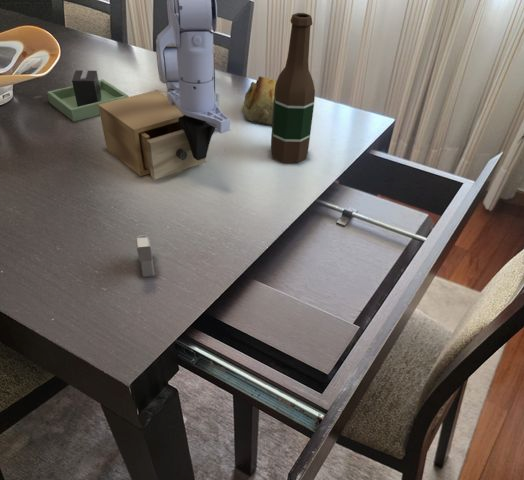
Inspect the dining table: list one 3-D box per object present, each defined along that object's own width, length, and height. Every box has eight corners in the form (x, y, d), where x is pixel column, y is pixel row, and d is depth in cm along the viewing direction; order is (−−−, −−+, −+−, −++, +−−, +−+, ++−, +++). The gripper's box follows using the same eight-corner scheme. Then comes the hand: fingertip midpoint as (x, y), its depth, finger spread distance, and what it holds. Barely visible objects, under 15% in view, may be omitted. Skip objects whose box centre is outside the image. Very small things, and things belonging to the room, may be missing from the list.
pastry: (230, 109, 111) (230, 70, 105) (276, 100, 116) (279, 63, 110) (262, 134, 104) (264, 94, 98) (310, 124, 108) (314, 85, 102)
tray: (105, 90, 115) (103, 79, 113) (130, 107, 109) (128, 95, 107) (49, 103, 109) (46, 91, 107) (73, 121, 103) (71, 110, 101)
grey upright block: (140, 259, 73) (133, 213, 67) (152, 258, 74) (145, 212, 68) (144, 290, 69) (136, 243, 63) (156, 289, 69) (149, 242, 63)
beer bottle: (312, 150, 100) (330, 12, 82) (301, 167, 95) (318, 24, 77) (276, 143, 101) (286, 5, 83) (264, 159, 96) (272, 17, 78)
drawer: (209, 164, 92) (208, 128, 87) (158, 182, 87) (153, 145, 82) (172, 139, 98) (169, 104, 93) (121, 154, 93) (115, 118, 88)
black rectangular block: (81, 96, 110) (75, 68, 106) (101, 96, 111) (96, 68, 106) (77, 107, 106) (71, 79, 102) (99, 107, 107) (93, 79, 102)
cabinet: (196, 157, 95) (194, 112, 89) (140, 176, 90) (133, 129, 83) (161, 133, 101) (156, 89, 95) (106, 149, 96) (97, 104, 89)
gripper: (244, 85, 77) (242, 166, 87) (188, 58, 84) (192, 137, 94) (209, 95, 74) (212, 179, 84) (154, 67, 80) (162, 147, 90)
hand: (199, 157), depth 89 cm, fingers closed
